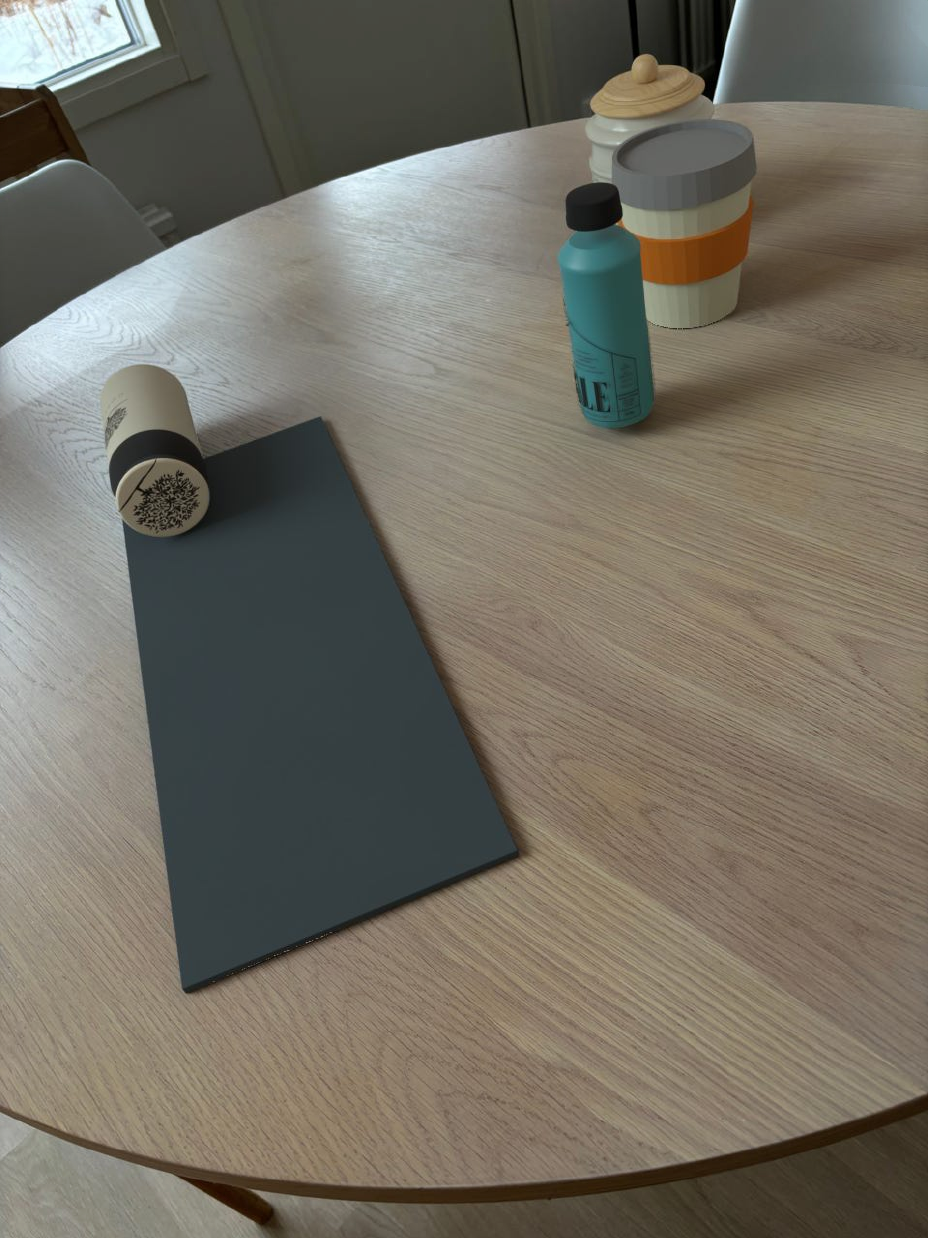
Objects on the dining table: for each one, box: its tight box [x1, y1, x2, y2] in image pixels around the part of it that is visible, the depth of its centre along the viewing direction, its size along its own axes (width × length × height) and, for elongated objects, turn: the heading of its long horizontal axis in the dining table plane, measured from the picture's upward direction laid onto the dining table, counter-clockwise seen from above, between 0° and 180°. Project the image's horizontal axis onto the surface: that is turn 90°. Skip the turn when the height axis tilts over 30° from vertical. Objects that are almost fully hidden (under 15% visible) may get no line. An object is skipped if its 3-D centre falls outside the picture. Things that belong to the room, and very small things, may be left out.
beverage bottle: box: [557, 182, 657, 429], centre depth 80 cm, size 6×7×20 cm
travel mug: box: [99, 363, 210, 537], centre depth 90 cm, size 8×8×18 cm
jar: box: [584, 53, 715, 225], centre depth 105 cm, size 13×13×18 cm
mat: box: [121, 416, 520, 994], centre depth 76 cm, size 20×53×1 cm, turn 19°
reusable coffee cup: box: [612, 118, 758, 330], centre depth 93 cm, size 13×12×15 cm
